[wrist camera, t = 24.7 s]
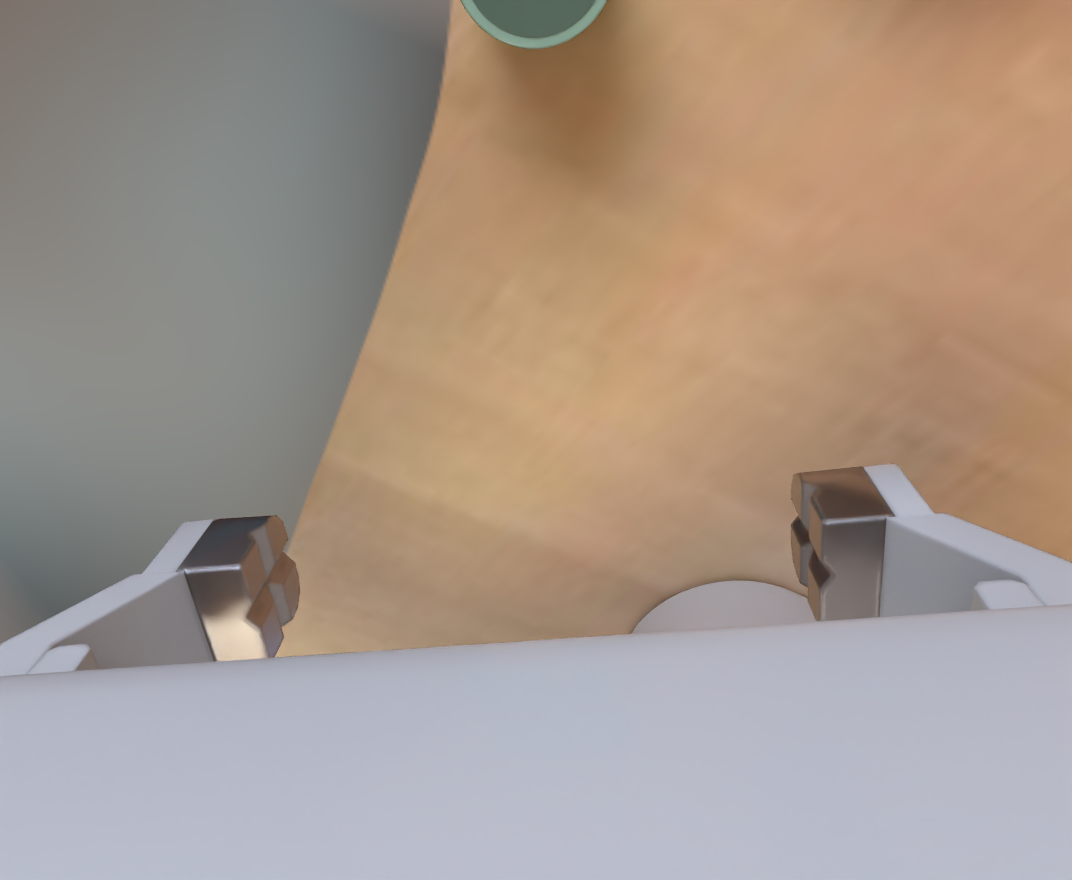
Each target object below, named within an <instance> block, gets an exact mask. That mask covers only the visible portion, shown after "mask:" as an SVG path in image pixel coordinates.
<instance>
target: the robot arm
mask: <svg viewBox="0 0 1072 880" xmlns="http://www.w3.org/2000/svg"><path fill="white" fill-rule="evenodd" d="M791 500H792V502H793V505H794V507H795V509H796V511H797V513H798V516H797V518H796V519H795V520H794V521H793V523H792V524H791V548H792V556H793V563H794V567H795V571H796V574H797V577H798V579H799V582H800V583H801V584H802V585H804V586H806V587H808V598H806V597H804V596H801V595H799V594H797V593H795V592H792V591H790V590H788V589H785V588H782V587H779V586H776V585H772V584H768V583H762V582H756V581H741V580H736V581H721V582H714V583H709V584H704V585H701V586H697V587H694V588H691V589H688V590H686V591H683V592H681V593H679V594H676V595H674V596H672V597H671V598H669V599H667V600H665V601H664V602H662V603H661V604H659V605H658V606H656V607H655V608H654V609H653V610H651V611H650V612H649V613H648V614H647V615H646V616H645V617H644V618H643V619H642V620H641V621H640V622H639V623H638V624H637V626H636V627H635V628H634V630H633V631H632V633H631V634H622V635H607V636H592V637H577V638H562V639H547V640H532V641H517V642H502V643H486V644H471V645H456V646H441V647H426V648H411V649H396V650H381V651H366V652H351V653H336V654H321V655H306V656H291V657H276V658H274V657H275V655H276V653H277V651H278V649H279V647H280V645H281V643H282V641H283V638H284V635H283V632H282V628H281V627H282V626H284V625H285V624H286V623H288V622H289V621H291V620H292V619H293V617H294V615H295V613H296V610H297V608H298V602H299V594H300V586H299V576H298V572H297V568H296V564H295V562H294V561H293V560H291V559H290V558H289V557H288V556H287V555H286V554H285V553H284V552H282V551H283V549H284V547H285V545H286V543H287V541H288V536H287V533H286V530H285V527H284V523H283V521H282V520H281V519H280V518H279V517H278V516H277V515H275V516H261V517H243V518H228V519H218V520H217V519H207V520H198V521H190V522H185V523H183V524H182V525H181V526H180V527H179V529H178V530H177V531H176V532H175V534H174V535H173V536H172V537H171V539H170V540H169V541H168V542H167V544H166V545H165V546H164V547H163V549H162V550H161V551H160V552H159V554H158V555H157V556H156V557H155V559H154V560H153V561H152V562H151V563H150V565H149V566H148V567H147V568H146V570H145V571H144V572H143V573H142V574H140V575H132V576H130V577H128V578H126V579H124V580H122V581H120V582H118V583H116V584H115V585H113V586H111V587H109V588H107V589H105V590H103V591H101V592H99V593H97V594H95V595H94V596H92V597H90V598H88V599H86V600H84V601H82V602H80V603H78V604H76V605H74V606H72V607H71V608H69V609H67V610H65V611H63V612H61V613H59V614H57V615H55V616H53V617H52V618H50V619H48V620H46V621H44V622H42V623H40V624H38V625H36V626H34V627H33V628H30V629H28V630H27V631H25V632H23V633H21V634H19V635H17V636H15V637H13V638H11V639H9V640H7V641H5V642H4V643H2V644H0V880H1072V562H1070V561H1067V560H1064V559H1062V558H1059V557H1057V556H1054V555H1052V554H1049V553H1046V552H1044V551H1041V550H1039V549H1036V548H1034V547H1031V546H1028V545H1026V544H1023V543H1021V542H1018V541H1016V540H1013V539H1010V538H1008V537H1005V536H1003V535H1000V534H998V533H995V532H993V531H990V530H987V529H985V528H982V527H980V526H977V525H975V524H972V523H969V522H967V521H964V520H962V519H959V518H957V517H954V516H951V515H949V514H946V513H938V514H935V513H934V512H933V511H932V509H931V508H930V507H929V505H928V504H927V503H926V502H925V500H924V499H923V498H922V496H921V495H920V494H919V492H918V491H917V490H916V489H915V487H914V486H913V485H912V483H911V482H910V481H909V480H908V478H907V477H906V476H905V474H904V473H903V472H902V470H901V469H900V468H899V467H898V465H895V464H893V463H891V464H883V465H875V466H867V467H862V466H861V467H852V468H842V469H833V470H823V471H814V472H804V473H797V474H794V475H793V480H792V489H791Z"/></svg>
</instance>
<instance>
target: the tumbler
mask: <svg viewBox="0 0 1072 880" xmlns="http://www.w3.org/2000/svg"><path fill="white" fill-rule="evenodd" d="M461 2H462V4H463V6H464V8H465V9H466V11H467V12H468V13H469V15H470V16H471V18H472V19H473V20H474V21H475V22H476V23H477V24H478V26H479V27H481V28H482V29H483V30H484V31H485V32H486V33H488V34H489V35H491V36H492V37H494V38H495V39H497V40H499V41H501V42H503V43H505V44H508V45H511V46H514V47H518V48H524V49H544V48H550V47H554V46H557V45H560V44H562V43H565V42H567V41H569V40H571V39H573V38H574V37H576V36H577V35H579V34H580V33H581V32H583V31H584V30H585V29H586V28H587V27H588V26H589V25H590V24H591V23H592V22H593V21H594V20H595V19H596V18H597V16H598V15H599V13H600V12H601V11H602V9H603V7H604V6H605V4H606V2H607V0H461Z"/></svg>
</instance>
